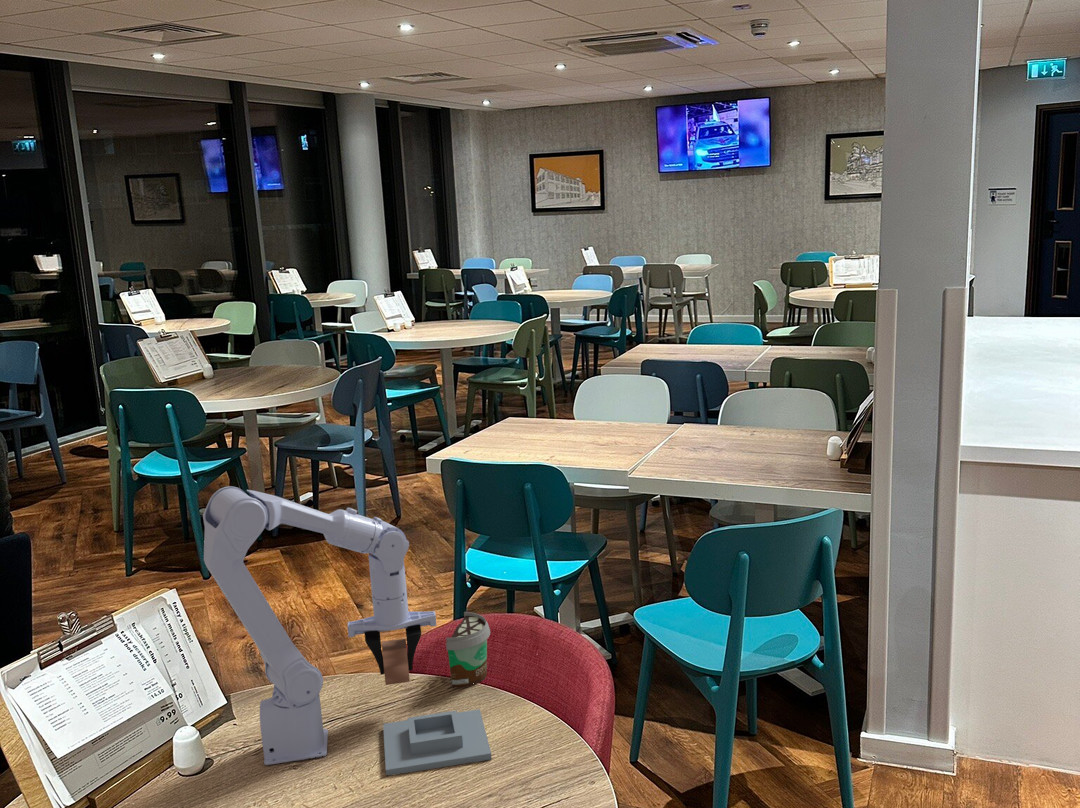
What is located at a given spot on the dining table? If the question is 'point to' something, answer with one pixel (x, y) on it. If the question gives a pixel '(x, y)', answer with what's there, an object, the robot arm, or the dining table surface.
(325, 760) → the dining table surface
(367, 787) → the dining table surface
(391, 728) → the base board
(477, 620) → the food container
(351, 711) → the dining table surface
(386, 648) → the terracotta block
